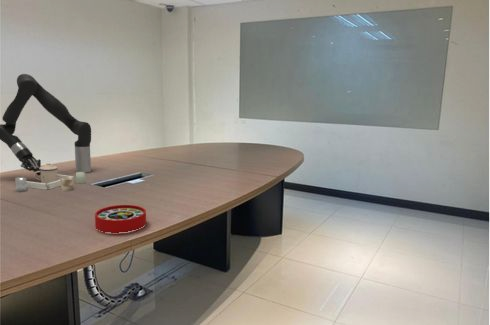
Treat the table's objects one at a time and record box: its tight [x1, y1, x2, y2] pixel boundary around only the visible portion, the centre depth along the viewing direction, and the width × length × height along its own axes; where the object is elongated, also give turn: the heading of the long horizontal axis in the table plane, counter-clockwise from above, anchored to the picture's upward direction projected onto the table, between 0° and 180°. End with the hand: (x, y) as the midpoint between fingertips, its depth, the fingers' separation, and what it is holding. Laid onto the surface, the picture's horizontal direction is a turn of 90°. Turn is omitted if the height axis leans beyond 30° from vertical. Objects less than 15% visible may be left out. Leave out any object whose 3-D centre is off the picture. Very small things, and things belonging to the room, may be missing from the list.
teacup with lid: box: [33, 162, 59, 184], centre depth 207 cm, size 12×9×12 cm
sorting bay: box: [27, 174, 76, 191], centre depth 207 cm, size 18×21×3 cm
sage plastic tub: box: [75, 171, 86, 185], centre depth 212 cm, size 5×5×6 cm
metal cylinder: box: [14, 176, 28, 193], centre depth 191 cm, size 5×5×7 cm
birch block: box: [60, 178, 74, 192], centre depth 197 cm, size 5×5×6 cm
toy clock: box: [94, 204, 147, 233], centre depth 149 cm, size 20×6×20 cm
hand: (40, 174), depth 207 cm, fingers closed
